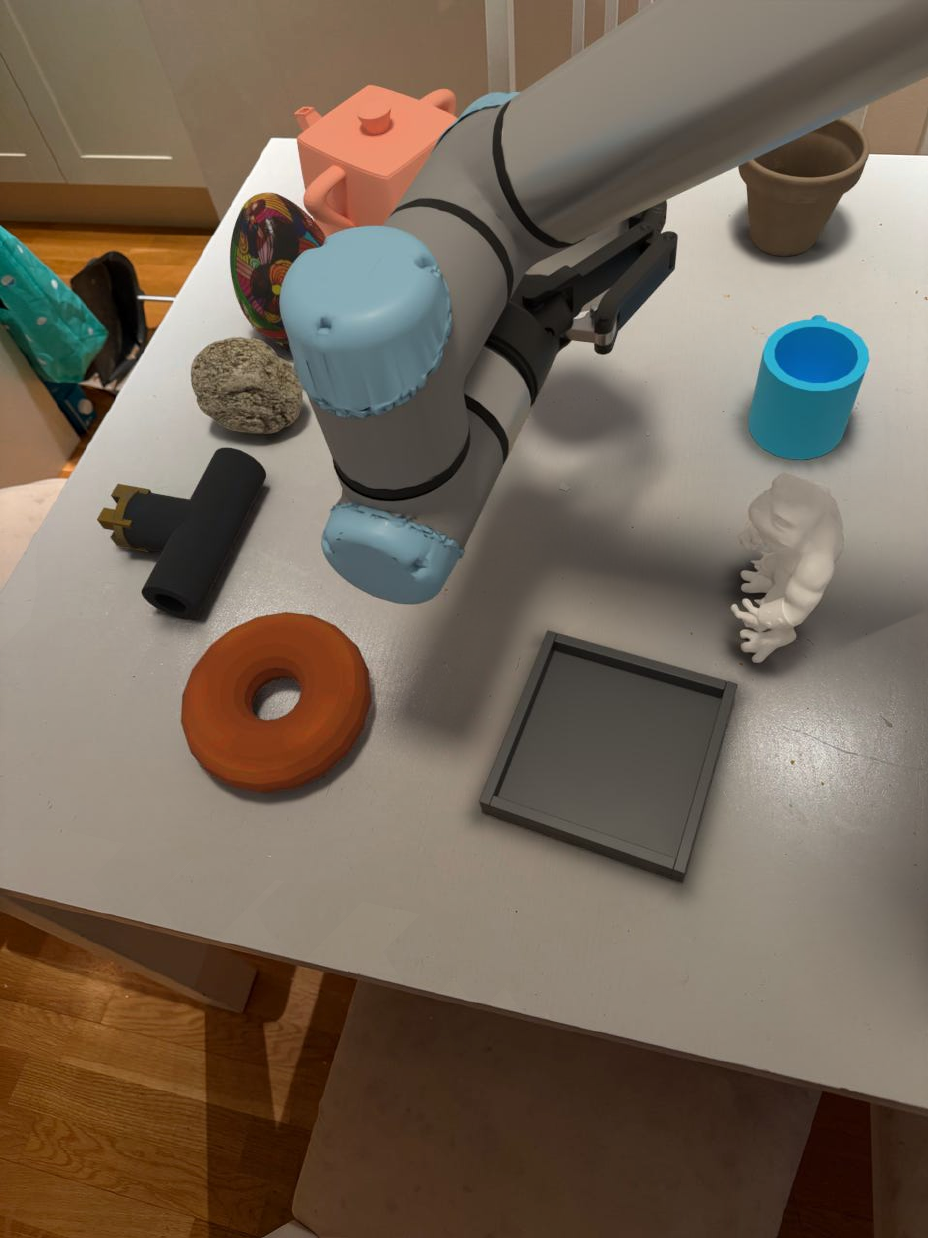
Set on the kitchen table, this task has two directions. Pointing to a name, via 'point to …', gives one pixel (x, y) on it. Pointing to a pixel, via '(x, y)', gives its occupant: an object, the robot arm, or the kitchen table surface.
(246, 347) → the stone
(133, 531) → the pipe connector
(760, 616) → the figurine
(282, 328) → the egg
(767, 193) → the flower pot
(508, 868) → the kitchen table surface
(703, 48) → the robot arm
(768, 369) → the mug
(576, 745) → the tray
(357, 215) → the teapot
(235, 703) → the donut
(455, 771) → the kitchen table surface
